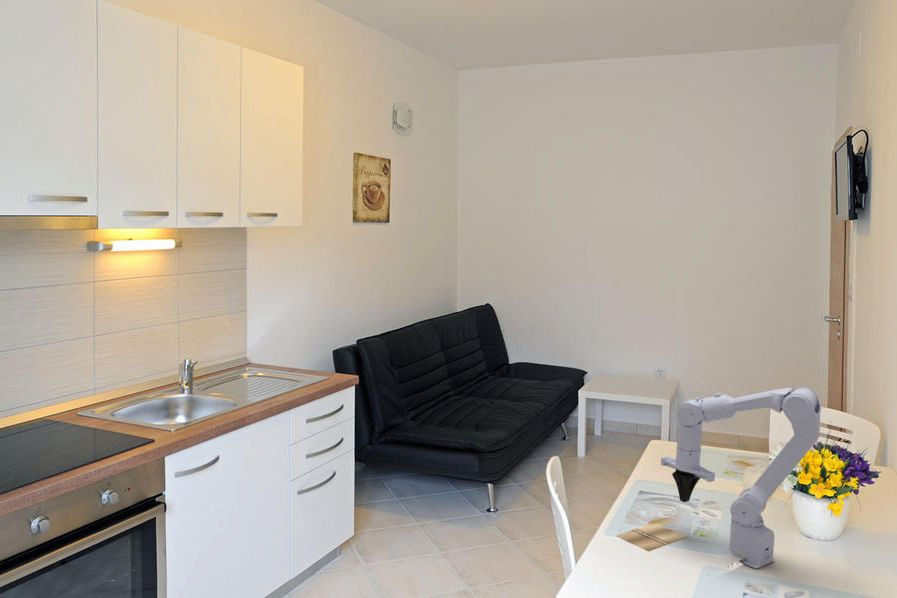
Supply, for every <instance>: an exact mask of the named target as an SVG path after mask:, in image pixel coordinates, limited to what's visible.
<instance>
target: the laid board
mask: <svg viewBox="0 0 897 598" xmlns="http://www.w3.org/2000/svg"><path fill="white" fill-rule="evenodd" d="M615 537H617V538H618V539H621V540H623V541H625V542H627V543H630V544H632V545H634V546H636V547H638V548H640V549H643V550H645V551H647V552H652V551H653V550H657V549H659V548H663V547H665V546H667V545H668V544H666V543H664V542H661V541H659V540H657V539H655V538H652V537H650V536H648V535H646V534H643V533H641V532H639V531H636V530H634V529H631V530H629V531H626V532H623V533H620V534H617V535H615Z"/></svg>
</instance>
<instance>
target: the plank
mask: <svg viewBox="0 0 897 598" xmlns="http://www.w3.org/2000/svg"><path fill="white" fill-rule="evenodd" d="M633 530H636V531H638V532H640V533H642V534H645V535H647V536H649V537H651V538H654V539H656V540H658V541H661V542H663V543H665V544H667V545H670V544H673V543H676V542H678V541H682V540H684V539H687V538H689V536H687V535H686V534H683V533H681V532H678V531H676V530H673V529H670V528H669V527H666V526H664V525H661V524H659V523H657V522H652V523H649V524H647V525H643V526H641V527H637V528H635V529H633Z"/></svg>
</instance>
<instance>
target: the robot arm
mask: <svg viewBox="0 0 897 598" xmlns="http://www.w3.org/2000/svg"><path fill="white" fill-rule="evenodd" d="M792 389H793V390H792ZM821 405H822V404H821V403H820V400H819V398H818V395H817V393H816V392H815V391H814V390H813V389H811V388H809V387H806V386H798V387H795V388H793V387H785V388H779V389H773V390H768V391H763V392H759V393H758V392H757V393H753V394H748V395H744V396H739V397H735V398H734V397H732V396H730V395H728V394H722V392H717V393H715V394H714V396H709V397H704V398H702V397H701V396H699V397H696V398H695V399H688V400H687V401H685V402H683V403H682V404H681V405H679V407H678V408H677V409H676V418H677V420H678V428H677V439H676V453H675V454H676V455H675V458H674V457H673V458H672V457H668V456H663V457H661V458H660V466H662V467H665V466H666V467H668V468H672V469H674V470H675V471H674V472H672V474H671V475H672V478H673V480H674V482H675V484H676V487H677V490H678V496H679V501H680V502H682V503H686V502H690V500H691V496H692V493H693V491H694V489H695V487H696V485H697V483H698V482H699V481H700V480H701V479H702V480H705V481H706V482H708V483H711V482H714V481H715V477H716V476H715V475H716V473H715V472H713V471H711V470H708V469H706V468H705V467H703V466H701V463H700V462H701V451H702V450H701V449H702V439H703V437H702V435H703V422H704V423H708V422H709V423H710V422H716V421H721V420H726V419H732V418H733V417H734V416H735V414H736V413H737V412H743V411H745V412H746V411H751V410H760V409H767V408H768V409H771V410H773V411H775V412H776V413H779V414H781V412H783V414H784V416H785V417H786V418H787V419H788V421H789V422H790V424H791V427H792V430H793V436H792V437H791V438H790V439H789V440H788V442H787V443H786V444H785V446H784V447H783V448H782V449H781V450H780V451H779V453H778V454H777V455H776V457H775V458H774V459H773V460H772V462H771V463H770V464H769V465H768V466H767V468H766V469H765V470H764V471H763V473H762V474H761V475H760V476H759V477H758V479H757V480H756V481H755V482H754V483H753V484H752V486H751V487H749V488H747V489H745V490H743V491H741V493H740V494H739V496H738V497H737V498H736V499H735V500H734V501H732V503H731V506H730V509H729V510H730V515H731V518H730V533H729V544H728V545H729V548H728V549H729V551H730V553H732V554H733V555H736V556H737V557H741V558H743V559H741V560H738V562H739V563H741V564H744V565H746V566H748V567H751V568H753V569H760V568H762V567H764V566H766V565H768V564H771V563H772V562H775V558H774V548H775V547H774V546H775V534H774V531H773V530H772V529H770V528H769V527H767V526H766V525H765V523H764V522H765V521H764V519H763V516H762V515H761V514H762V513H763V512H764V511H765V510H766V507H767V506H766V505H767V501H768V500H769V499H770V498H771V497H772V495H773V494H774V493H775V492H776V491H777V489H778V488H779V487H780V486H781V485H782V483H783V482H784V481H785V479H787V477H788V476H789V475H790V474H791V473H792V472H793V470H794V469H796V467H797V466H798V464H799V463H800V462H801V461H802V460H803V458H804V457H805V456H806V455H807V454H808V453H809V451H810V450H811V449H812V448H813V447H814V445H815V444H816V443H817V442H818V440H819V437H820V434H821V432H820V431H821V411H822V406H821Z"/></svg>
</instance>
